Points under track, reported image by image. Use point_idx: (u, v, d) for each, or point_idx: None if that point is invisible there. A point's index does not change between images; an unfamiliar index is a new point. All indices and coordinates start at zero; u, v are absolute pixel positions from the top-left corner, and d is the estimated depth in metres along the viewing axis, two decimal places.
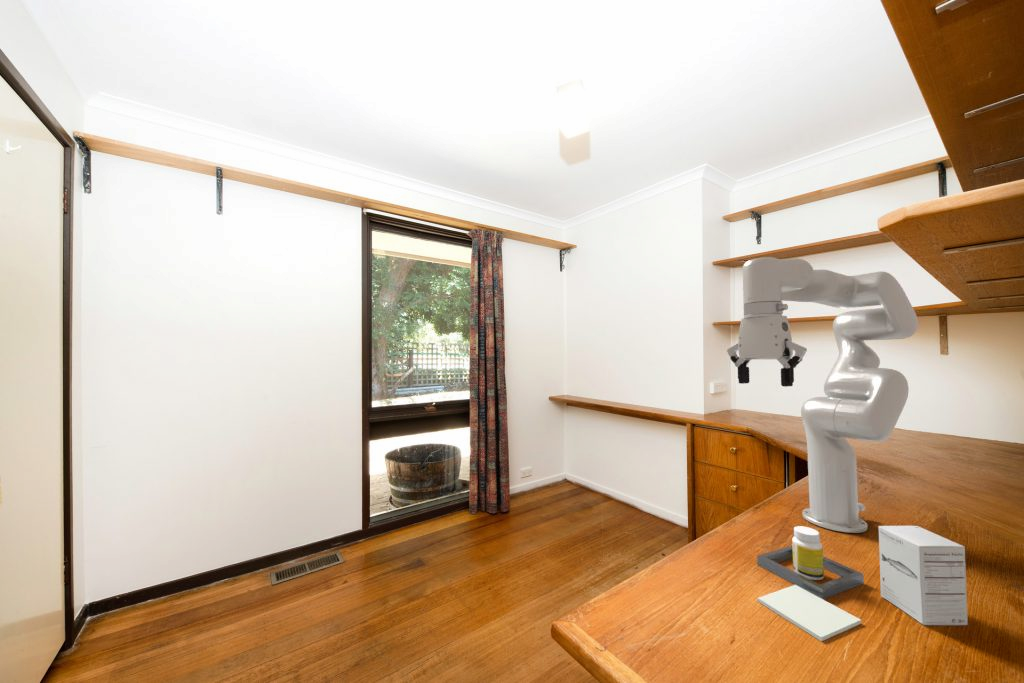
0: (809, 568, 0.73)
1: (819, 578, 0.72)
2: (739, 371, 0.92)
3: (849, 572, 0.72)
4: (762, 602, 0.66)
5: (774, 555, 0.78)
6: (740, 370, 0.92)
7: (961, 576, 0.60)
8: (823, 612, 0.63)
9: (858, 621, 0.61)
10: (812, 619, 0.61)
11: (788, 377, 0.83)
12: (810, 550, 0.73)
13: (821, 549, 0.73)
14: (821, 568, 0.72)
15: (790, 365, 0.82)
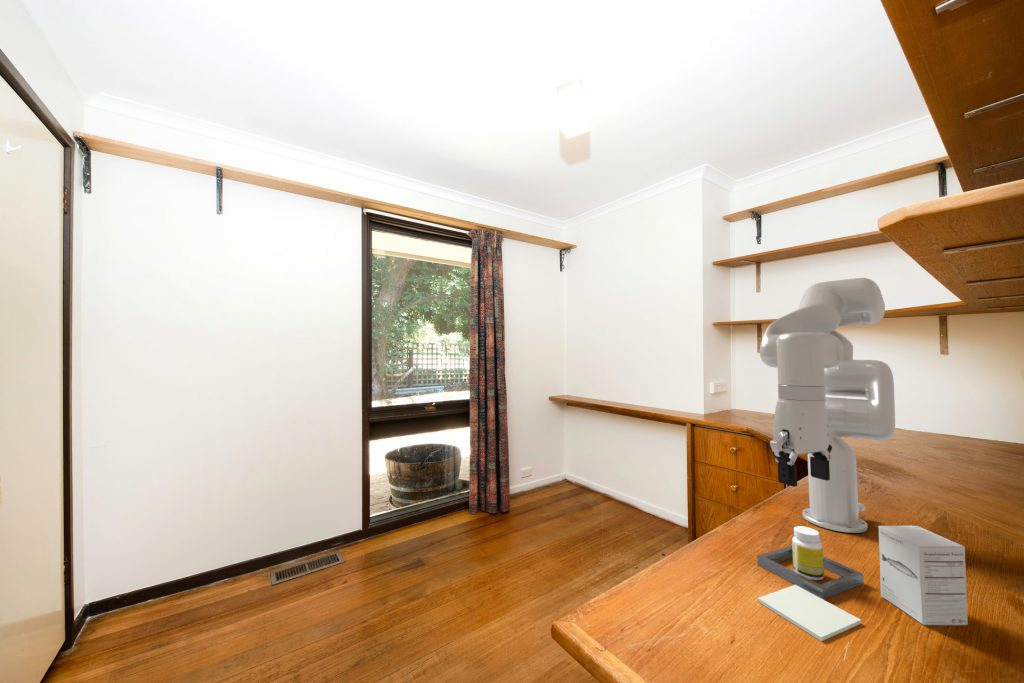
0: (809, 568, 0.73)
1: (819, 578, 0.72)
2: (796, 471, 0.72)
3: (849, 572, 0.72)
4: (762, 602, 0.66)
5: (774, 555, 0.78)
6: (796, 469, 0.72)
7: (961, 576, 0.60)
8: (823, 612, 0.63)
9: (858, 621, 0.61)
10: (812, 619, 0.61)
11: None
12: (810, 550, 0.73)
13: (821, 549, 0.73)
14: (821, 568, 0.72)
15: None
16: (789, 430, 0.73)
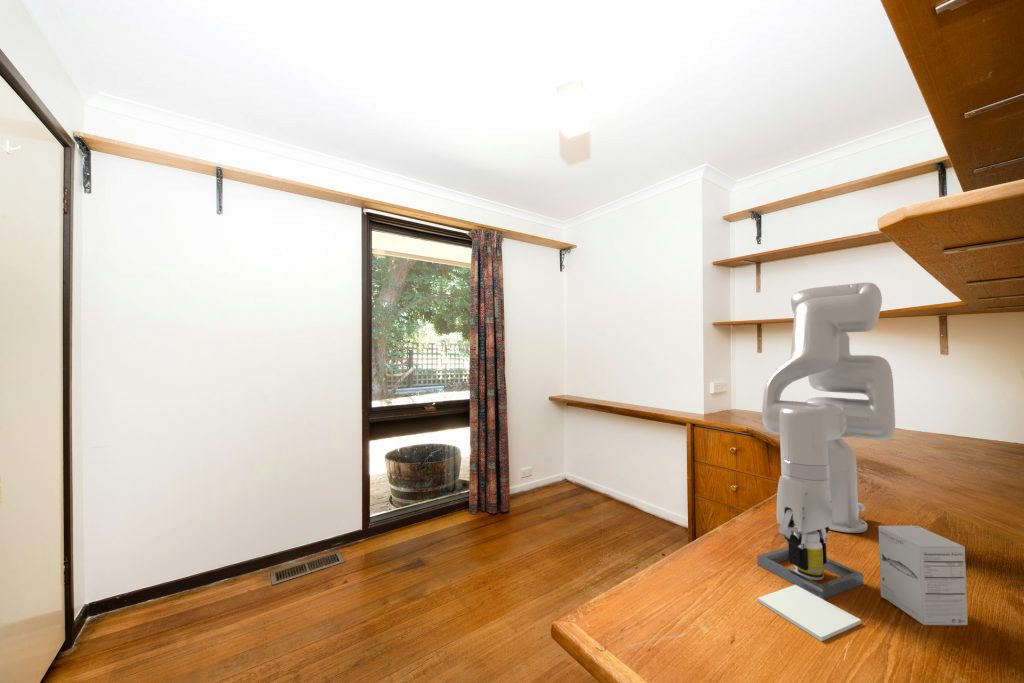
0: (809, 568, 0.73)
1: (819, 578, 0.72)
2: (807, 555, 0.72)
3: (849, 572, 0.72)
4: (762, 602, 0.66)
5: (774, 555, 0.78)
6: (807, 553, 0.72)
7: (961, 576, 0.60)
8: (823, 612, 0.63)
9: (858, 621, 0.61)
10: (812, 619, 0.61)
11: None
12: (810, 550, 0.73)
13: (821, 549, 0.73)
14: (821, 568, 0.72)
15: None
16: (793, 512, 0.72)
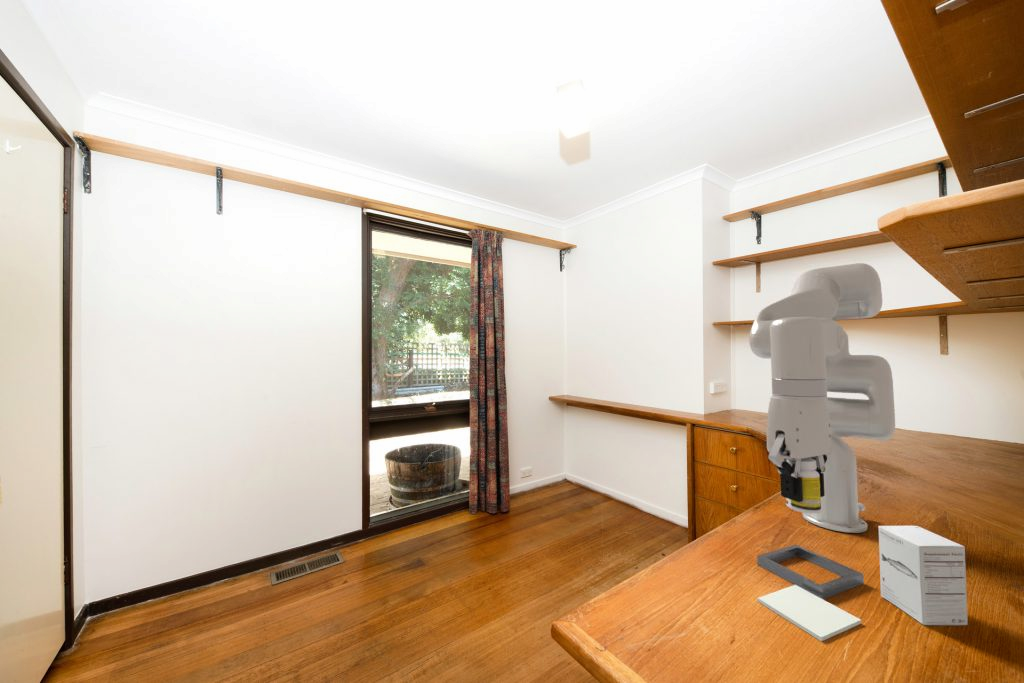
0: (804, 500, 0.62)
1: (816, 511, 0.62)
2: (801, 484, 0.62)
3: (849, 572, 0.72)
4: (762, 602, 0.66)
5: (774, 555, 0.78)
6: (801, 482, 0.62)
7: (961, 576, 0.60)
8: (823, 612, 0.63)
9: (858, 621, 0.61)
10: (812, 619, 0.61)
11: None
12: (805, 479, 0.62)
13: (818, 478, 0.63)
14: (818, 500, 0.62)
15: None
16: (785, 435, 0.62)
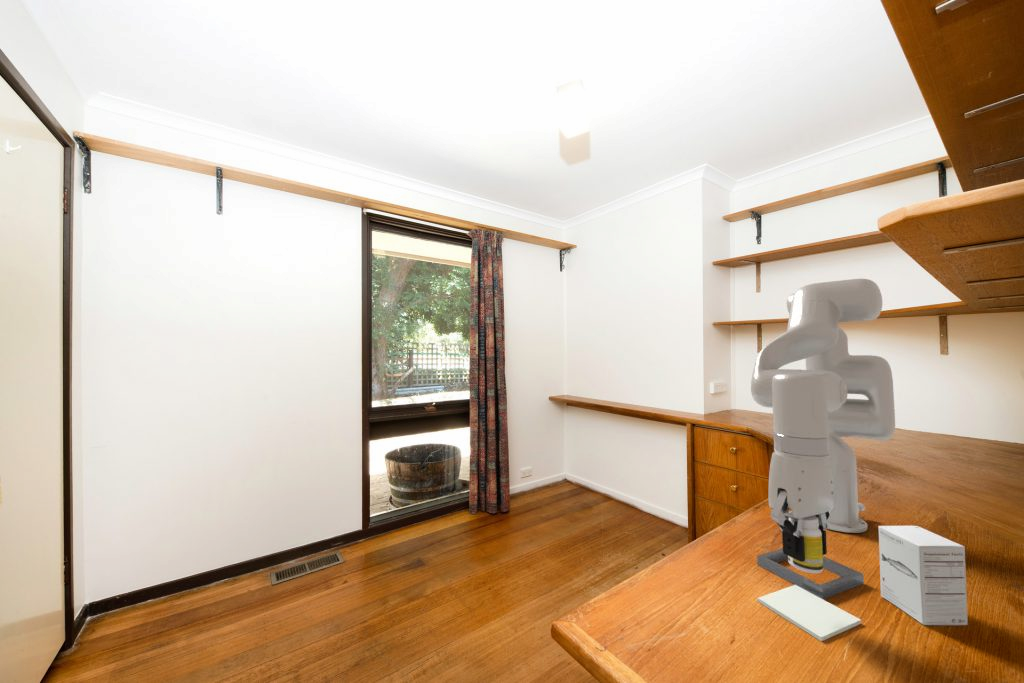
0: (806, 559, 0.62)
1: (818, 571, 0.62)
2: (803, 543, 0.62)
3: (849, 572, 0.72)
4: (762, 602, 0.66)
5: (774, 555, 0.78)
6: None
7: (961, 576, 0.60)
8: (823, 612, 0.63)
9: (858, 621, 0.61)
10: (812, 619, 0.61)
11: None
12: (807, 538, 0.62)
13: (820, 537, 0.62)
14: (820, 559, 0.62)
15: None
16: (787, 494, 0.62)
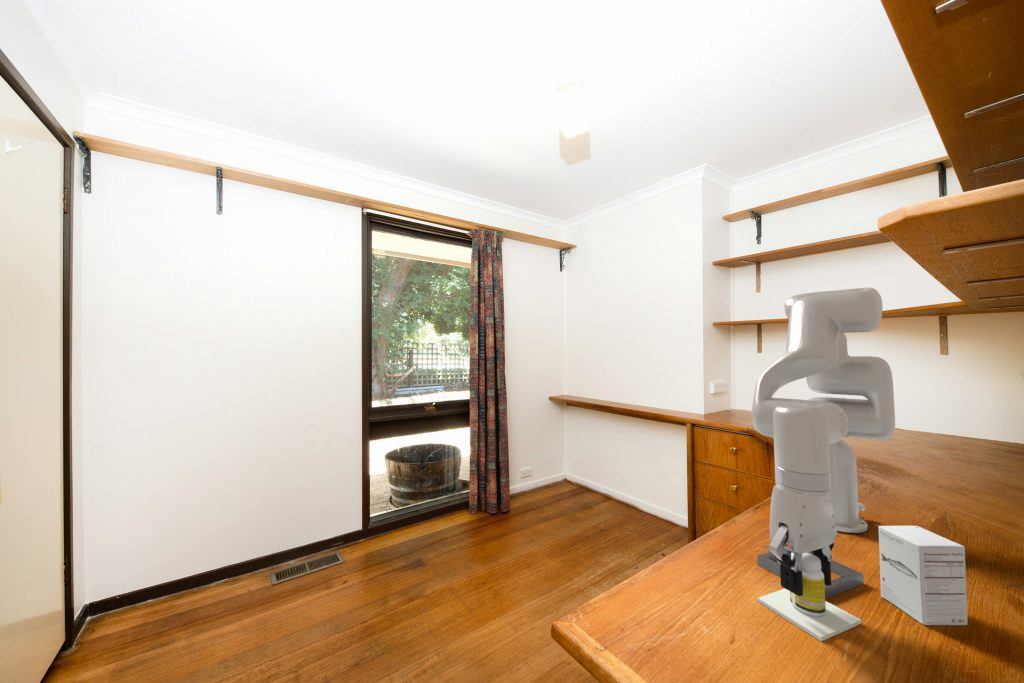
0: (808, 602, 0.62)
1: (820, 614, 0.62)
2: (801, 578, 0.61)
3: (849, 572, 0.72)
4: (762, 602, 0.66)
5: None
6: None
7: (961, 576, 0.60)
8: None
9: (858, 621, 0.61)
10: (812, 619, 0.61)
11: None
12: (810, 581, 0.62)
13: (823, 580, 0.62)
14: (823, 602, 0.62)
15: None
16: (788, 527, 0.62)
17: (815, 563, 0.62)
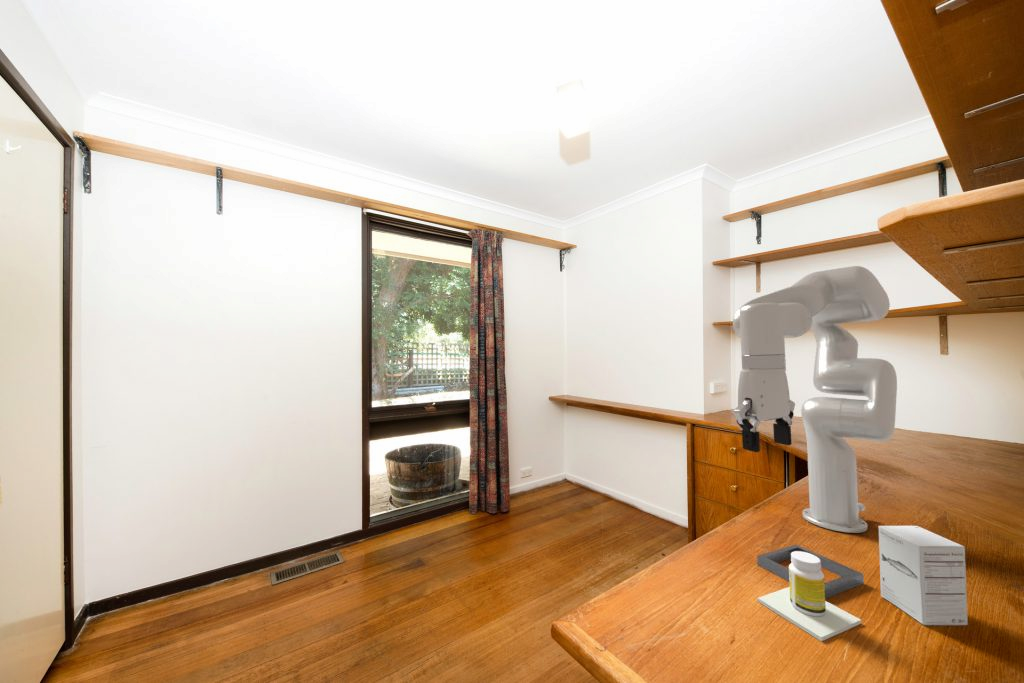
0: (808, 602, 0.62)
1: (820, 614, 0.62)
2: (758, 437, 0.74)
3: (849, 572, 0.72)
4: (762, 602, 0.66)
5: (774, 555, 0.78)
6: (758, 436, 0.74)
7: (961, 576, 0.60)
8: None
9: (858, 621, 0.61)
10: (812, 619, 0.61)
11: None
12: (809, 581, 0.62)
13: (823, 580, 0.62)
14: (823, 602, 0.62)
15: None
16: (751, 398, 0.75)
17: (815, 563, 0.62)
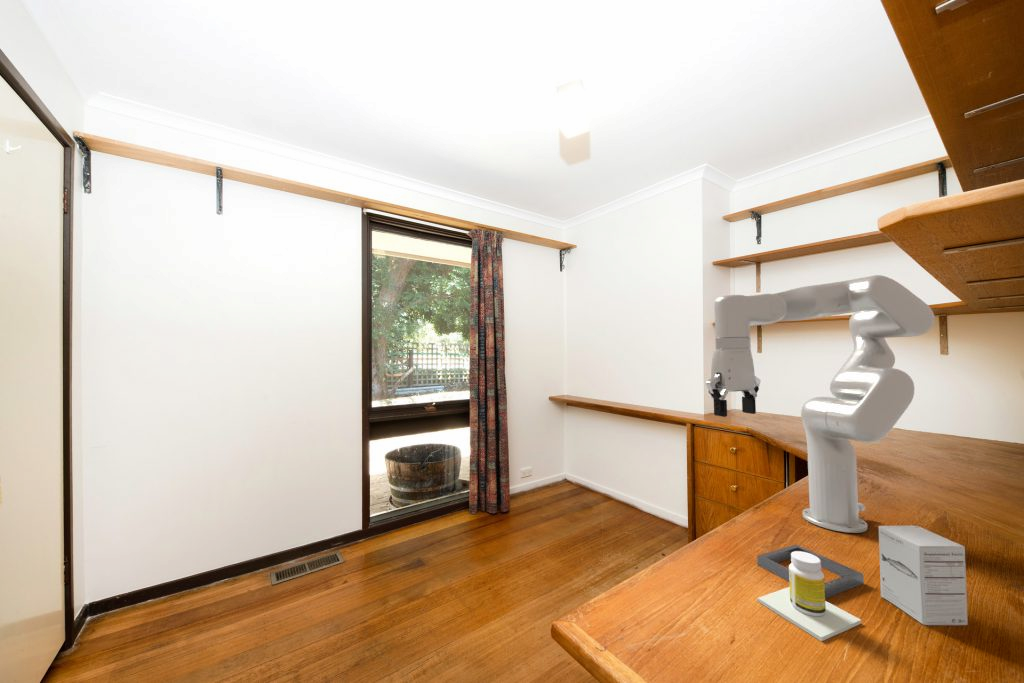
0: (808, 602, 0.62)
1: (820, 614, 0.62)
2: (726, 404, 0.90)
3: (849, 572, 0.72)
4: (762, 602, 0.66)
5: (774, 555, 0.78)
6: (726, 403, 0.91)
7: (961, 576, 0.60)
8: None
9: (858, 621, 0.61)
10: (812, 619, 0.61)
11: None
12: (809, 581, 0.62)
13: (823, 580, 0.62)
14: (823, 602, 0.62)
15: None
16: (721, 372, 0.92)
17: (815, 563, 0.62)
